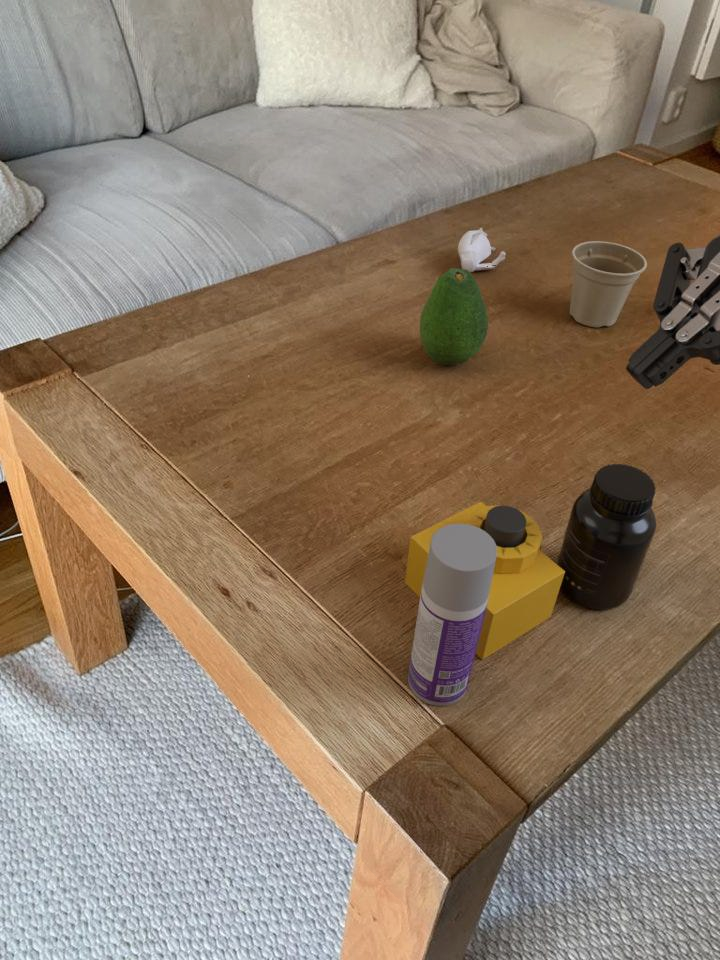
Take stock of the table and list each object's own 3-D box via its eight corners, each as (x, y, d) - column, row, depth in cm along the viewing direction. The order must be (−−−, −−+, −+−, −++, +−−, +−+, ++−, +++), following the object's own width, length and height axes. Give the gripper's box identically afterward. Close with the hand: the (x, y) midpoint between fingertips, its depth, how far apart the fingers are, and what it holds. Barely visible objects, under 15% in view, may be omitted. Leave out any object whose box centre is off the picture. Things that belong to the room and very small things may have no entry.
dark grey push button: (530, 538, 66) (534, 522, 65) (502, 553, 65) (506, 538, 64) (503, 515, 68) (506, 500, 67) (475, 530, 67) (478, 514, 66)
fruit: (494, 361, 100) (511, 270, 92) (457, 388, 95) (472, 294, 87) (440, 337, 103) (452, 248, 96) (402, 361, 99) (412, 269, 91)
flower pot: (623, 303, 113) (640, 244, 107) (634, 338, 106) (653, 277, 100) (555, 296, 113) (568, 237, 108) (561, 331, 106) (576, 270, 100)
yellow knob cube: (555, 614, 70) (575, 553, 65) (482, 660, 66) (497, 598, 61) (476, 544, 76) (488, 483, 71) (404, 582, 72) (412, 520, 67)
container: (472, 664, 65) (504, 530, 56) (461, 713, 62) (493, 579, 52) (415, 650, 66) (436, 515, 56) (401, 697, 63) (422, 562, 53)
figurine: (519, 244, 121) (500, 276, 113) (481, 259, 125) (460, 291, 116) (503, 207, 119) (483, 237, 110) (465, 223, 122) (442, 254, 114)
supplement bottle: (584, 544, 76) (617, 444, 69) (645, 588, 73) (688, 487, 65) (536, 578, 73) (565, 476, 65) (598, 625, 69) (637, 523, 61)
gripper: (747, 133, 59) (564, 309, 63) (899, 206, 49) (674, 407, 54) (775, 198, 64) (605, 357, 68) (918, 275, 55) (711, 453, 59)
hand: (636, 379), depth 61 cm, fingers closed
